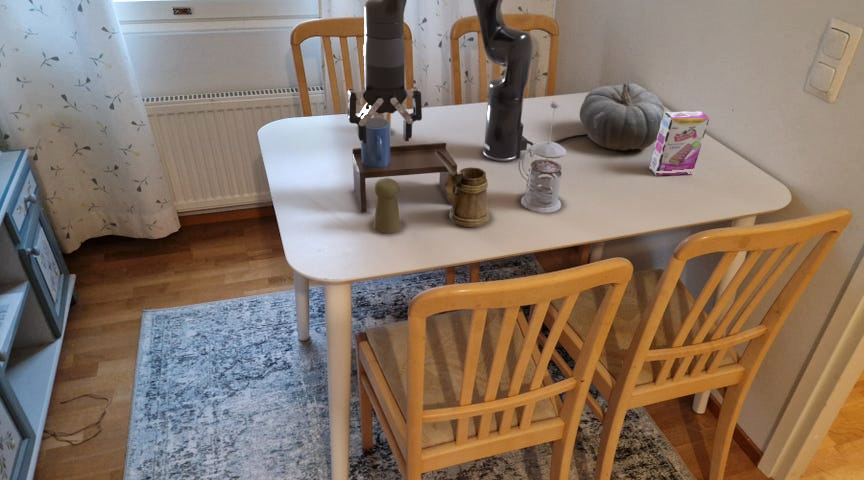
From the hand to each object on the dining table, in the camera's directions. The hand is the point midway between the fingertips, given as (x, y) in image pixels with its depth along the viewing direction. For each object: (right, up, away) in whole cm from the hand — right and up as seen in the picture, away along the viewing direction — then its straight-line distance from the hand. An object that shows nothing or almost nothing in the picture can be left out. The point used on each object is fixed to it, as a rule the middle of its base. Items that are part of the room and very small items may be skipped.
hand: (385, 141), depth 127 cm
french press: (+33, -10, +26) cm, 43 cm away
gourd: (+60, +12, +60) cm, 86 cm away
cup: (-4, -2, +15) cm, 15 cm away
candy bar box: (+71, +1, +45) cm, 84 cm away
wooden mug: (+15, -15, +16) cm, 26 cm away
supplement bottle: (-9, +13, +54) cm, 56 cm away
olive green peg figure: (-1, -17, +11) cm, 20 cm away
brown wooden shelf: (+1, -9, +22) cm, 24 cm away
